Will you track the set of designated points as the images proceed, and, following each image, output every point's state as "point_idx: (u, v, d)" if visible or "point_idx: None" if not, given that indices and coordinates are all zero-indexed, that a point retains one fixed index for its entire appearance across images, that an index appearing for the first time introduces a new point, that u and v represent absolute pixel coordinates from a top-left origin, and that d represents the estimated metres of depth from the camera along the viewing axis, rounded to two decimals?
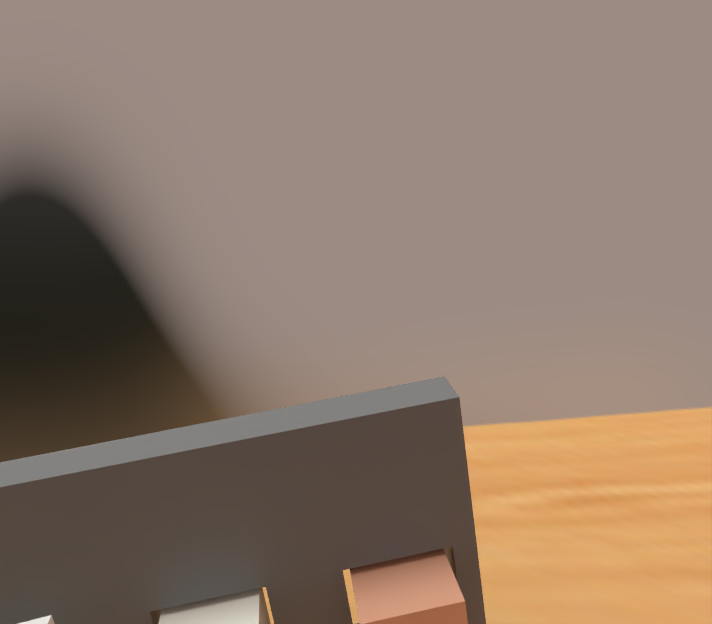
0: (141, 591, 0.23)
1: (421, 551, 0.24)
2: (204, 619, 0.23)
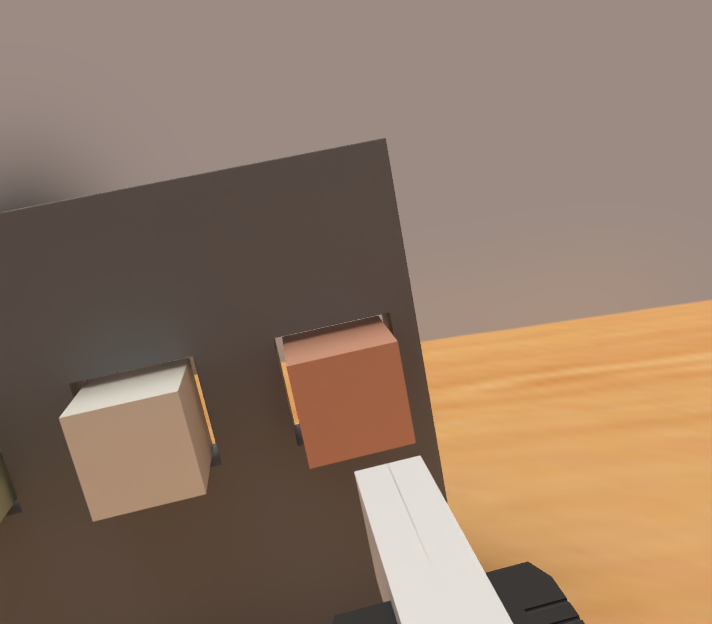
0: (58, 359, 0.22)
1: (356, 317, 0.23)
2: (126, 385, 0.22)
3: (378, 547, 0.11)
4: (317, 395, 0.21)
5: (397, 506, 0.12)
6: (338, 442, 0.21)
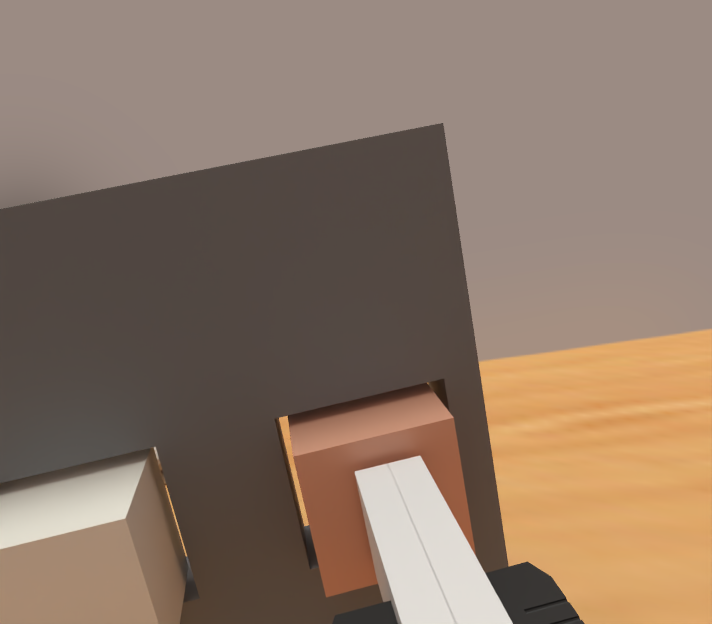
0: None
1: (396, 386, 0.16)
2: (53, 496, 0.14)
3: (378, 547, 0.11)
4: (338, 496, 0.14)
5: (397, 506, 0.12)
6: (367, 559, 0.15)
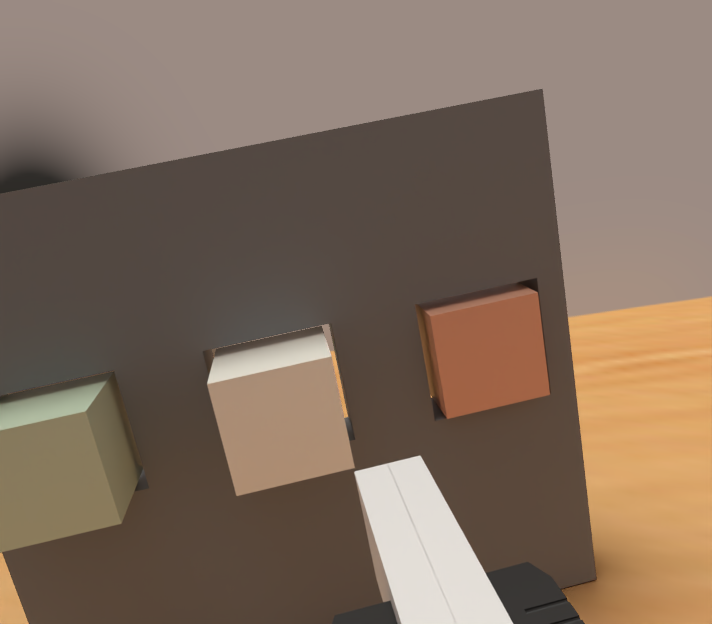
0: (193, 325, 0.20)
1: (502, 282, 0.21)
2: (265, 352, 0.20)
3: (378, 547, 0.11)
4: (458, 345, 0.21)
5: (397, 506, 0.12)
6: (476, 392, 0.22)
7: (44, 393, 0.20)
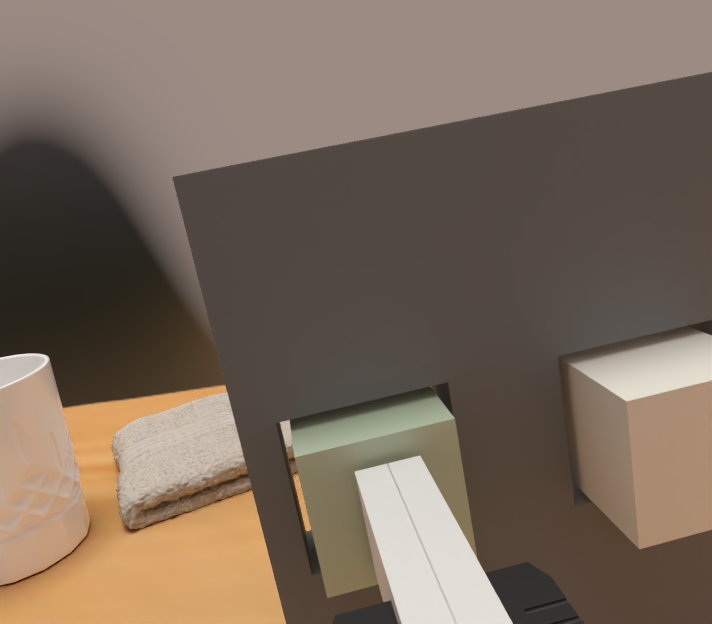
0: (551, 322, 0.16)
1: None
2: (649, 358, 0.16)
3: (378, 547, 0.11)
4: None
5: (397, 506, 0.12)
6: None
7: None
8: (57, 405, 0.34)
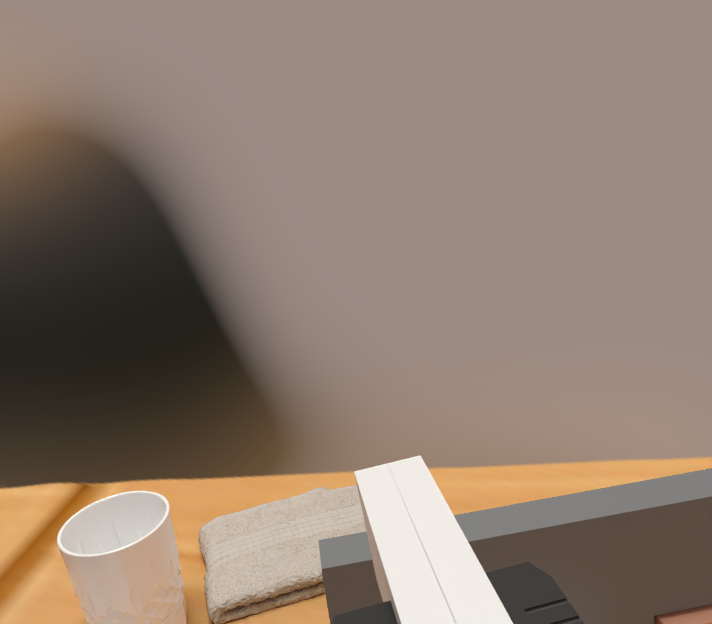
0: None
1: None
2: None
3: (378, 547, 0.11)
4: None
5: (397, 506, 0.12)
6: None
7: None
8: (173, 537, 0.49)
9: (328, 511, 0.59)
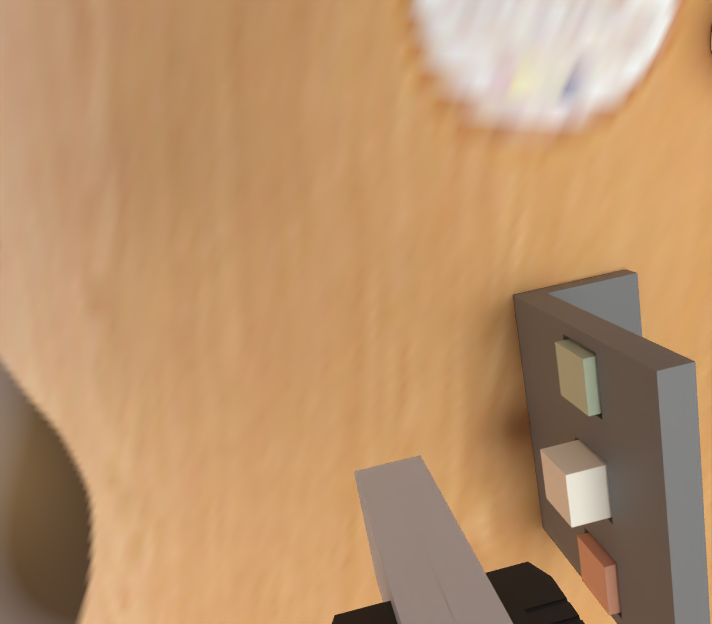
0: (614, 469, 0.38)
1: (621, 605, 0.41)
2: (596, 492, 0.39)
3: (378, 547, 0.11)
4: (596, 566, 0.42)
5: (397, 506, 0.12)
6: (583, 555, 0.44)
7: None
8: None
9: None
